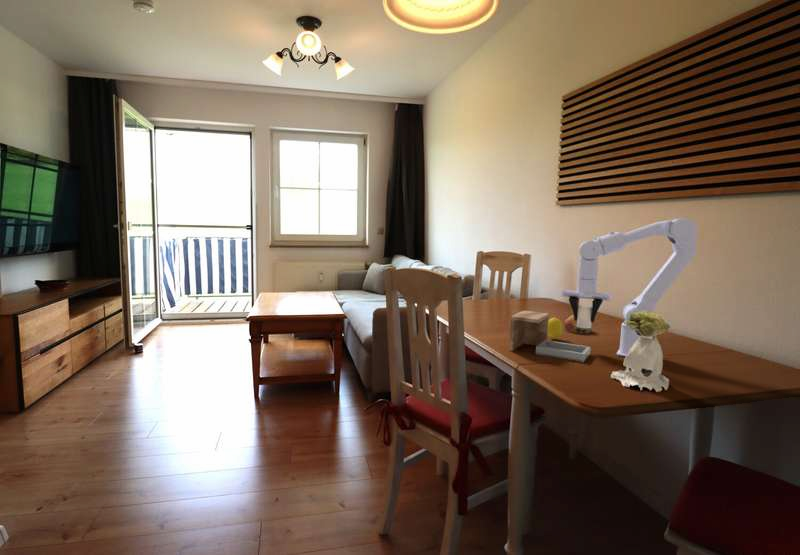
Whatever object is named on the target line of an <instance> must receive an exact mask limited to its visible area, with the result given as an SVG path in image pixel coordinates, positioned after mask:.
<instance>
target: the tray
mask: <svg viewBox="0 0 800 555" xmlns="http://www.w3.org/2000/svg"><path fill="white" fill-rule="evenodd" d="M535 355H539V356H544V357H549V358H550V357H551V358H556V359H563V360H567V359H568V360H569V361H573V360H574V362H579V361H580V363H585V362H586V360H587V359H588V358H589V356H590V355H591V346H587V345H580V344H579V345H578V344H574V343H568V342H560V341H555V340H554V341H553V340H548V339H547V340H544V341H543V342H541V343H540V344H539V345H535ZM584 361H585V362H584Z"/></svg>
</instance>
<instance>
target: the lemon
mask: <svg viewBox="0 0 800 555" xmlns="http://www.w3.org/2000/svg"><path fill="white" fill-rule="evenodd" d="M563 330H564V325H563V322H562V320H560V319H559V318H558V317H557V316H553V317H551V318H549V322H548V336H549V338H550V337H551V339H553V340H555V339H557V338H559V337H561V336H562V334H563Z"/></svg>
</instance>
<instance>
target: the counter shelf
mask: <svg viewBox="0 0 800 555" xmlns="http://www.w3.org/2000/svg"><path fill="white" fill-rule="evenodd" d="M549 320H550V313H547V312H539V311H532V310H531V311H529V310H521V311H519V312H517V313H515V314H513V315H511V316H510V332H509V333H510V334H509V337H510V338H509V352H513V351H514V350H516V349H518V348H519V347H521V346H523V344H525V345H533V346H537V345H539V344H540V343H541V342H543V341H544V340H548V338H549V337H548V336H549V335H548V322H549Z"/></svg>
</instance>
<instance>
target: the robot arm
mask: <svg viewBox="0 0 800 555" xmlns="http://www.w3.org/2000/svg"><path fill="white" fill-rule="evenodd" d="M654 236H659V237H666V238H667V239H668V241H669V242H670V243H671V247H672V250H673V252H672V254H671V255H670V256H669V258H668V259H667V260H666V261H665V263H664V264H663V265H662V267H661V268H660V269H659V271H658V272H657V273H656V274H655V275H654V276H653V278H652V279H651V281H649V283H648V284H647V286H646V287H645V289H643V290H642V292H641V294H639V295H638V296H637V297H635V298H634V299H633V301H632V302H630V303H628V304H626V305H625V306H624V307H623V309H622V311H621V313H622V317H623V319H624V321H630V320H629V318H630V316H631V314H632V313H635V312H640V311H648V312H652V313H654V310H655V306H656V304H657V303H658V302H659V300H660V299H661V298H662V297H663V295H664V294H665V293H666V292H667V291H668V290H669V288H670V287H671V286H672V285H673V283H675V281H676V279H677V278H678V277H679V276H680V275H681V273H682V272H683V271H684V270H685V268H686V267H687V266H688V265H689V264H690V262H691V261H692V260H693V258H694V257H695V255H696V251H697V250H696V248H697V238H698V236H699V231H698V229H697V226H696V224H695V222H694V221H693V220H692V219H690V218H688V217H680V218H672V219H670V220H669V219H668V220H663V221H658V222H654V223H651V224H648V225H644V226H642V227H639V228H636V229H634V230H631V231H627V232H625V233H622V232H620V231H615V232H614V231H613V230H612V231H609V232H608V234H606V235H603V236H599V237H596V236H594V237H593V238H592V240H586V241H584V242H582V243H581V244H580V246H579V248H578V253H579V259H578V261H579V263H578V266H577V268H578V269H577V282H576V283H577V284H576V290H565V289H563V290H561V297H562V298H564V297H565V298H568V301H569V304H570V306H571V309H572V313H573V314H572V315H574V320H576V321H577V312H578V306H580V305H579V304H580V299H587V300H592V306H591V307H592V317H591V322H592V323H593V324H594V323H595V319H596V317H597V313H598V311H599V309H600V307H601V305H602V304H603V302H604V301H606V302H611V301H612V297H613V296H612V294H610V293H604V292H603V293H601V292H597V285H598V284H597V283H598V270H599V265H598V261H599V256H600V255H601V256H606V255H609V254H611V253H615V252H618V251H621V250H624V249H625V248H626V246H627V244H629V243H632V242H637V241H639V240H643V239H647V238H651V237H654ZM620 326H621V329H620V340H619V342H620V343H619V349H618V350H617V352H616V355H617V356H622V357H626V355H627V354H628V352H629V351H630V349H631V347H632V346H633V345H634V343H635V342H636V341H637V340H638V339H639V337H640V336H639V335H637V334H636V331H635V330H632V329H630V328H629V327H627V326H626V324H624V323H623V322H622V323H621V325H620Z"/></svg>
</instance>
